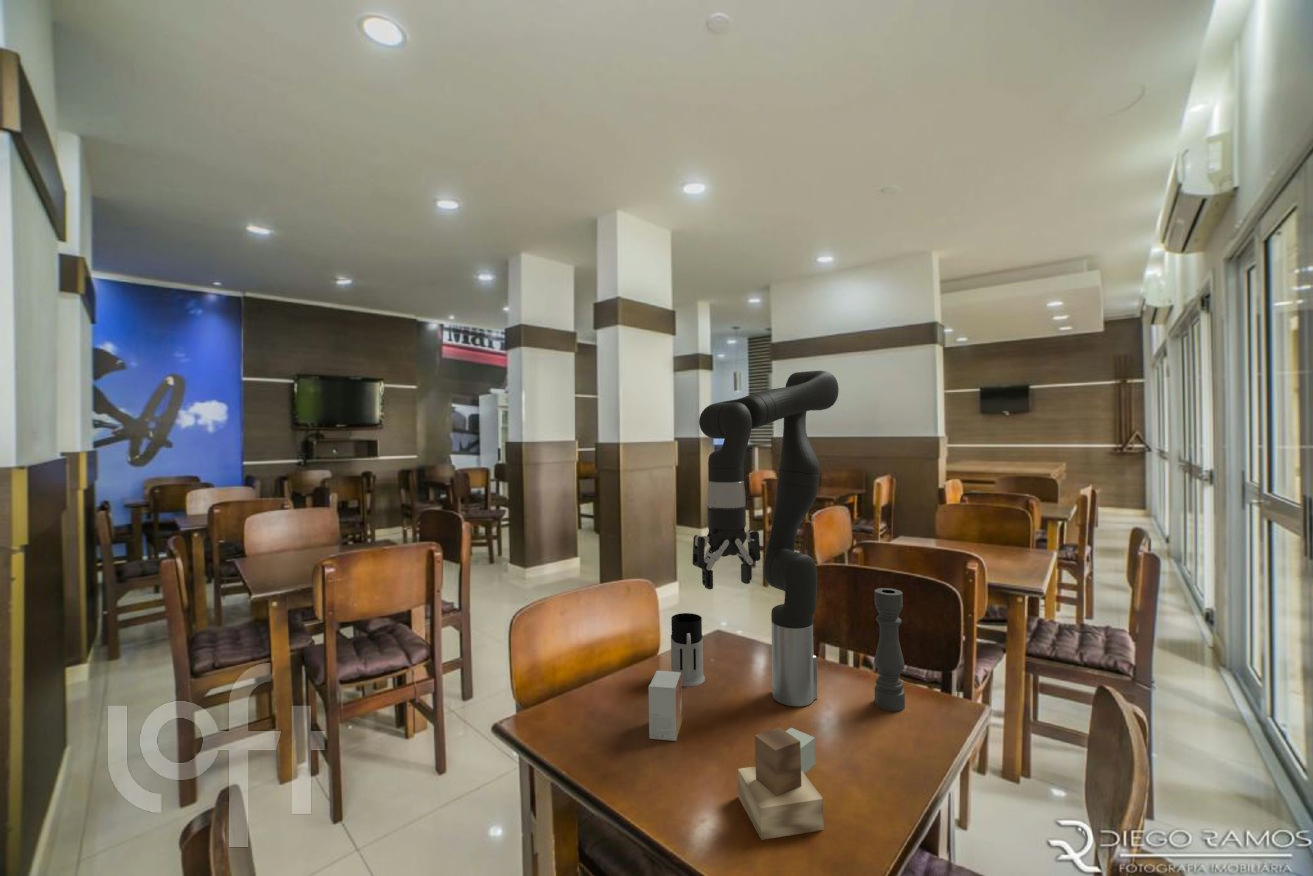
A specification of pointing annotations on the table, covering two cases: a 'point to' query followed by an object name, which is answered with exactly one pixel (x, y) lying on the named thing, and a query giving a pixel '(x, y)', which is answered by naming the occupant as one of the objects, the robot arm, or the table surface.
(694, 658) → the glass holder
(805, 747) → the grey cube
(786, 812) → the oak block
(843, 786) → the table surface
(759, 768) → the walnut block
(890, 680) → the candle holder
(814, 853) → the table surface
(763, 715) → the table surface
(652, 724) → the small box
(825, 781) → the table surface
